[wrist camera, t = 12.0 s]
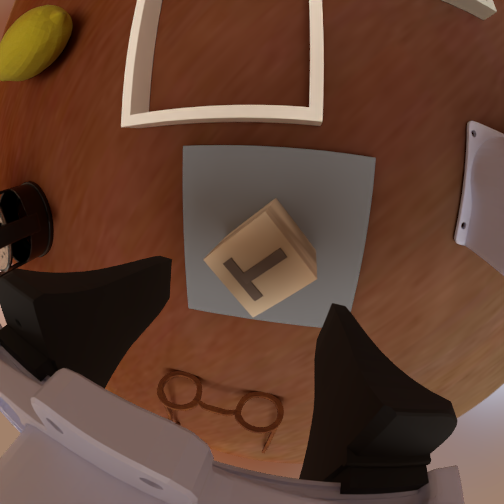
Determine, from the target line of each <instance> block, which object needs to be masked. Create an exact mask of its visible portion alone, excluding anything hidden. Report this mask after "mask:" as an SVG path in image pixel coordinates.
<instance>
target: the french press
mask: <svg viewBox="0 0 504 504" xmlns="http://www.w3.org/2000/svg"><path fill="white" fill-rule="evenodd" d="M2 193H3V194H2ZM0 194H2V196H1V199H0V270H1V271H2V272H0V277H2V276H4V275H5V274H7V273H9V272H11V271H13V270H14V269H16V268H18V267H20V266H22V265H23V264H25V263H27V262H29V261H31V260H33V259H35V258H36V257H42V256H44V255H46V254H47V253H48V252H49V250H50V248H51V245H52V241H53V221H52V215H51V211H50V207H49V204H48V201H47V199H46V197H45V194H44V193H43V191H42V190H41V188H40V187H39V186H38V185H37V184H35V183H34V182H30V181H29V182H25V183H23V184H22V185H20V186H17V187H13V188H10V189H6V190H3V191H0ZM20 201H21V203H22V205H23V207H24V210H25V213H26V217H23V218H21V219H19V205H20ZM29 235H30V238H31V244H30V243H29V242H28V240H27V239H26V237H27V236H29ZM13 258H14V259H15V260H16V261H17V262H18V263H16V264H14V265H12V266H11V264H12V259H13Z"/></svg>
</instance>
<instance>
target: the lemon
mask: <svg viewBox="0 0 504 504" xmlns="http://www.w3.org/2000/svg"><path fill="white" fill-rule="evenodd" d="M72 28H73V24H72V19H71V17H70V15H69V14H68V13H67V12H66V11H65V10H64V9H62V8H61V7H58V6H55V5H45V6H40V7H37V8H34V9H32V10H29V11H28V12H26V13H25V14H23V15H22V16H21V17H19V18H18V19H17V20H16V21H15V22H14V23H13V25H12V26H11V27H10V28H9V29H8V31H7V32H6V34H5V35H4V37H3V39H2V41H1V42H0V80H1V81H23V80H27V79H30V78H32V77H34V76H36V75H38V74H39V73H41V72H42V71H44V70H45V69H46V68H47V67H49V66H50V65H51V64H52V63H53V62H54V61H55V60H56V59H57V58H58V56H59V55H60V54H61V53H62V51H63V49H64V48H65V46H66V44H67V42H68V40H69V38H70V36H71V32H72Z"/></svg>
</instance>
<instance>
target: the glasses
mask: <svg viewBox="0 0 504 504" xmlns="http://www.w3.org/2000/svg"><path fill="white" fill-rule="evenodd" d="M174 377H185V378H188V379H190V380H192V381H193V382H194V383H195V384H196V386H197V393H196V396H195V398H194V399H193V401H191V402H190V403H188V404H184V405H177V404H173V403H171V402H169V401H168V400H167V398H166V396H165V393H164V391H163V388H164V385H165V384H166V383H167V381H169V380H170V379H172V378H174ZM157 394H158V397H159V399H160V401H161V402H162V403H163V405H164V407H165V409H166V411H167V413H168V420H170V421H172V422H173V420H172V410H171V409H173V410H178V411H186V410H190V409H193V408H195V407H196V406H197V405H199V406H200V407H201V408H202V409H204V410H206V411H209V412H212V413H216V414H219V415H223V416H232V415H235V419H236V421H237V422H238V423H239V424H240V425H241V427H243V428H244V429H246V430H248V431H250V432H254V433H268V432H271V433H270V435H269V437H268V439H267V442H266V444H265V446H264V448H263V450H262V453H265V451H266V450H267V448H268V446H269V444H270V442H271V440H272V438H273V436H274V434H275V432H276V430H277V428H278V426H279V425H280V423H281V421H282V418H283V414H284V410H283V406H282V403H281V402H280V400H279V399H278V398H276V397H275V396H273V395H271V394H269V393H264V392H251V393H248V394H246V395H245V396H243V397H242V399H241V400H240V401H239V403H238V405H237V407H236V410H225V409H221V408H218V407H214V406H211V405H207V404H205V403H203V402H202V401H200V399H201V395H202V385H201V382H200V380H199V379H198V378H197V377H196V376H194V375H192V374H190V373H187V372H183V371H174V372H170V373H168V374H166V375H165V376H164V377H163V378H162V379H161V381H160V382H159V384H158V388H157ZM252 398H265V399H268V400H270V401H271V402H273V403H274V404H275V405H276V407H277V410H278V415H277V419H276V421H275V422H274V423H273V424H272V425H270V426H268V427H255V426H252V425H249V424H248V423H246V422H245V421H244V419H243V418H242V416H241V410H242V407H243V405H244V404H245V403H246V401H248V400H249V399H252ZM176 424H178V425H180V423H176Z"/></svg>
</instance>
